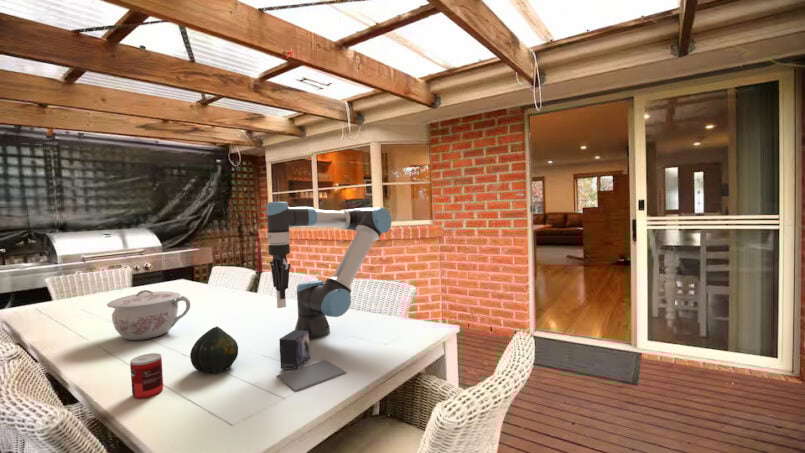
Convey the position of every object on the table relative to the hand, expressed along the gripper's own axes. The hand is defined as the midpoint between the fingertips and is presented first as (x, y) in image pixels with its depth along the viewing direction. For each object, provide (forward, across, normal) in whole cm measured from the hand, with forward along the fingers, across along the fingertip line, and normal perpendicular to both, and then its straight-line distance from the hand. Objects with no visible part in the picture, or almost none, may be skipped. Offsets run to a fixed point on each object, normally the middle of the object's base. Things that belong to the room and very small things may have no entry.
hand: (281, 307), depth 138 cm
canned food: (+19, -3, -42) cm, 46 cm away
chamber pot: (+19, -69, -34) cm, 79 cm away
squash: (+19, -7, -22) cm, 30 cm away
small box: (+19, +10, 0) cm, 21 cm away
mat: (+19, +22, 0) cm, 29 cm away
